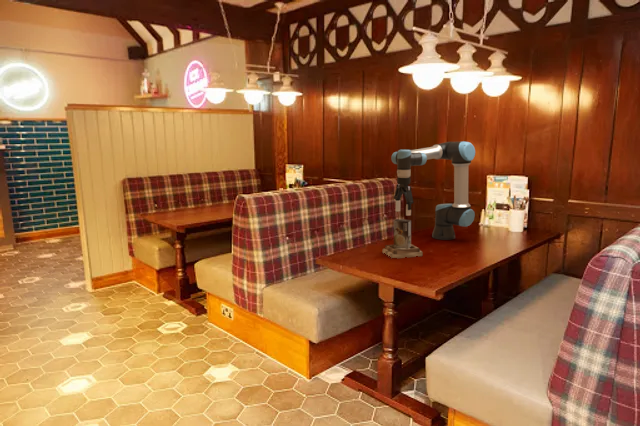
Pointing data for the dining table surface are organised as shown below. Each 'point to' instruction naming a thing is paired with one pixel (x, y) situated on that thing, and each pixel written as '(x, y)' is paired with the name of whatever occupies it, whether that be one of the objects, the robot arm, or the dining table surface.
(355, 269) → the dining table surface
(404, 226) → the coffee box
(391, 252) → the shallow beige rectangular tray
